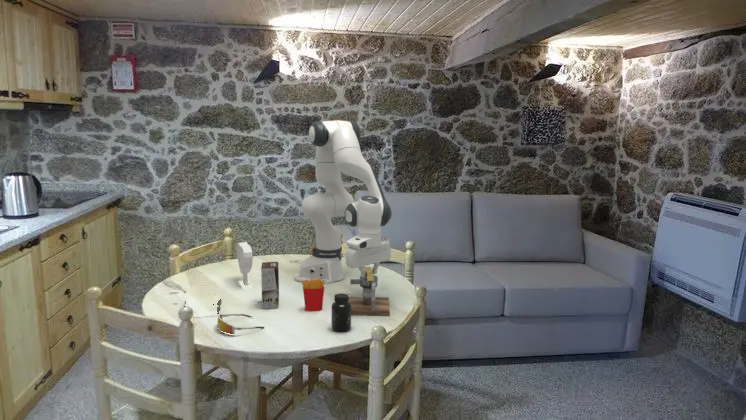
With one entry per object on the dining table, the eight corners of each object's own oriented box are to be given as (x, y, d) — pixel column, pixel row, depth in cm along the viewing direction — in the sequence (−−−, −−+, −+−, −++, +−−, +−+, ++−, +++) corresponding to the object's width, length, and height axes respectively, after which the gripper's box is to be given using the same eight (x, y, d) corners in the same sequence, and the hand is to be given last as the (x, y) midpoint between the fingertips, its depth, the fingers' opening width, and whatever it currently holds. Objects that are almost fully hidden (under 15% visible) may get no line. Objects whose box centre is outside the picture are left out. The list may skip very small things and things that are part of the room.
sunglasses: (210, 325, 174) (212, 311, 173) (251, 321, 182) (253, 308, 182) (224, 340, 162) (225, 325, 162) (267, 335, 171) (269, 321, 170)
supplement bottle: (353, 331, 170) (353, 298, 168) (333, 333, 168) (333, 300, 166) (348, 323, 177) (348, 291, 174) (329, 325, 175) (329, 293, 172)
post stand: (389, 316, 184) (390, 285, 182) (346, 315, 184) (346, 284, 182) (388, 302, 198) (389, 273, 196) (348, 301, 198) (348, 272, 196)
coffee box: (278, 308, 189) (278, 267, 186) (261, 309, 188) (260, 268, 185) (279, 300, 198) (278, 261, 195) (262, 300, 197) (262, 261, 194)
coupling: (379, 289, 185) (379, 273, 184) (351, 289, 184) (351, 274, 183) (375, 281, 194) (376, 266, 193) (349, 282, 193) (349, 267, 192)
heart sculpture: (236, 279, 222) (234, 240, 218) (247, 278, 224) (246, 239, 221) (243, 290, 208) (241, 249, 205) (255, 289, 210) (254, 248, 207)
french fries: (324, 307, 192) (324, 277, 190) (324, 310, 188) (324, 280, 186) (301, 307, 190) (301, 277, 188) (301, 311, 187) (301, 281, 184)
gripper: (383, 234, 195) (383, 268, 198) (343, 242, 182) (342, 278, 184) (395, 237, 191) (394, 272, 193) (354, 245, 177) (353, 282, 180)
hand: (368, 275), depth 188 cm, fingers closed on coupling, 4 cm apart
